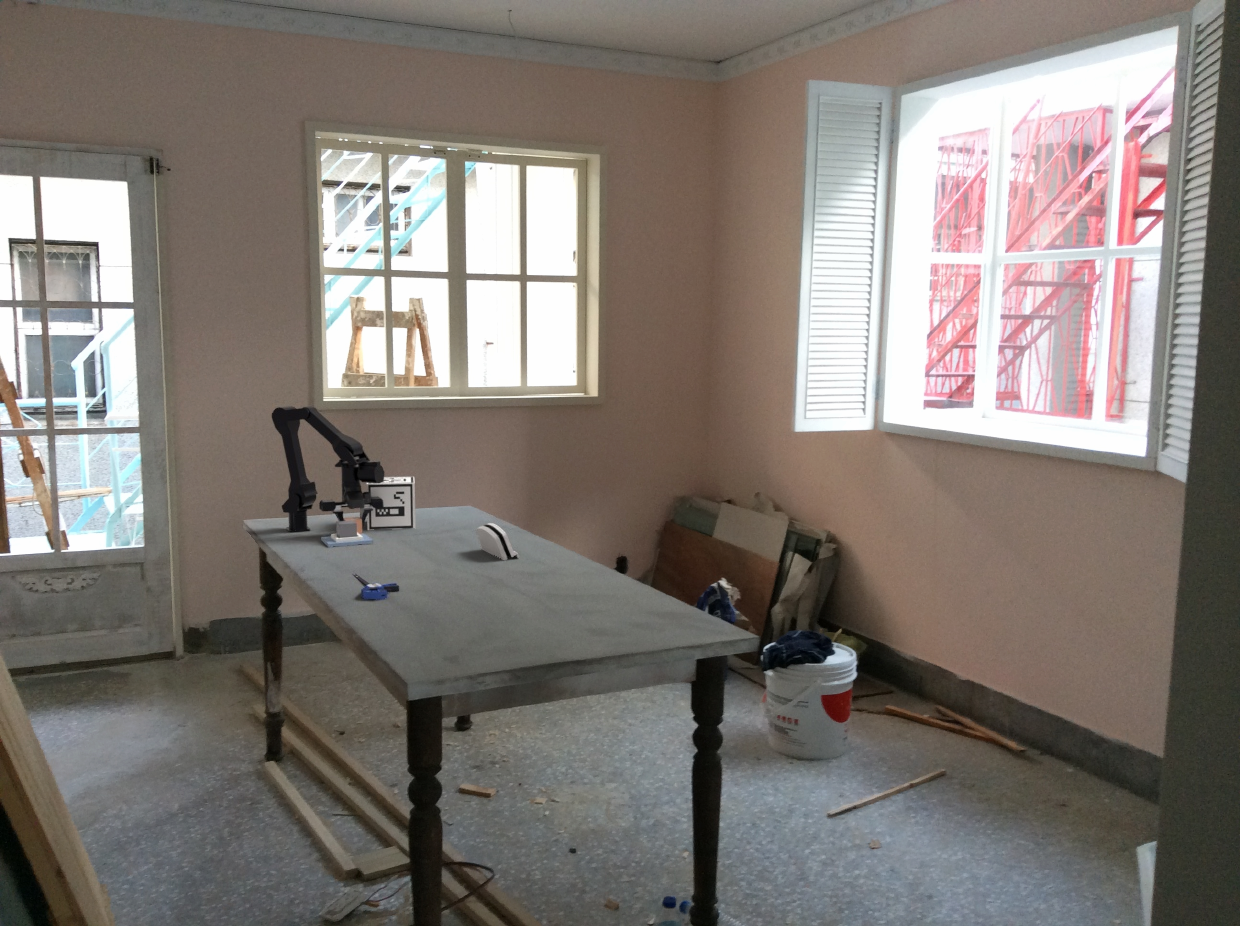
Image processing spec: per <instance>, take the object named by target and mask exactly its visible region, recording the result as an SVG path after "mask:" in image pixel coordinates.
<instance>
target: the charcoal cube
mask: <svg viewBox="0 0 1240 926" xmlns="http://www.w3.org/2000/svg"><path fill="white" fill-rule="evenodd" d="M335 524H336V534H337V537H338V538H347V537H357V523H356V522H355V521H353V520H351V521H338V520H337V521H336V522H335Z"/></svg>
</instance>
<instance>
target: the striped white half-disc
mask: <svg viewBox="0 0 1240 926" xmlns="http://www.w3.org/2000/svg"><path fill="white" fill-rule="evenodd" d="M475 532H476V535H477V539H478V542H479V545H480V548H481V550H482V551H484V552H486V553H488V554H490V555H492V554H493V555H492V556H494V555H495V556H494V557H496V556H497V557H496V558H498V557H499V558H498V559H500V558H501V559H500V560H502V561H506V560H508V559H509V557H511V558H513V557H514V556H516V557H520V555H519V553H518V552H517V551H515V550H514V549H513V547H512V544H511V542H510V539H509V537H508V534H507V532H505V530H503V529H502V528H501V527H500V526H499V525H497V524H495V523H493V522H489V523H488V522H487V523H485V524H483V525H480V526H478V527H477V528H476V529H475ZM516 557H515V558H516Z"/></svg>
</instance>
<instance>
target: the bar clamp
mask: <svg viewBox="0 0 1240 926" xmlns="http://www.w3.org/2000/svg"><path fill="white" fill-rule="evenodd" d="M356 576H358V577H356ZM353 577H355V578H356V579H357V580H358V579H359V580H358V581H360V582H361V583H362V584H364V585H365V586H364V587H362V588H361V590H360V593H361V595H360V596H361V599H363V598H364V599H363V600H367V599H377V600H376V601H381V600H380V599H383V600H386V599H385V598H387V599H388V592H390V593H391V592H399V591H400V585H398V584H397V583H395V582H392V583H386V584H381V583H379V582H375V583H370V582H368V581H367V580H365V579H364V578H363V577H361V576H359V575H358V574H356V573H355V574H353Z"/></svg>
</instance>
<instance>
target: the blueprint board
mask: <svg viewBox="0 0 1240 926" xmlns="http://www.w3.org/2000/svg"><path fill="white" fill-rule="evenodd" d="M321 542H323V544H325V545H326V546H327V548H334V547H333V546H339V547H347V545H350V546H359V545H358V544H362V545H370V544H369V543H373V544H374V540H373V539H372V538H371V537H370V536H368V535H367V534H366V533H362V534H359V533H358V532H357V537H347V538H338V537H337V533H332V534H330V535H329V536H321Z"/></svg>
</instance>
